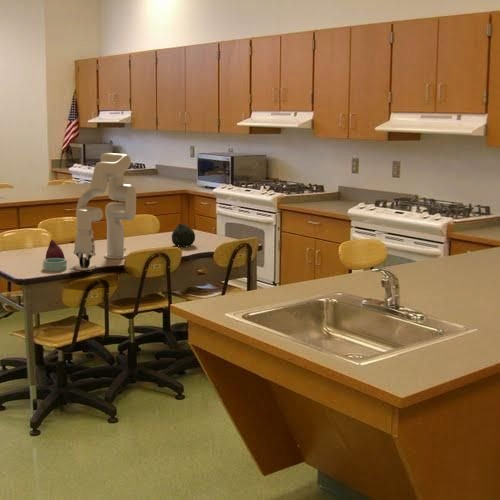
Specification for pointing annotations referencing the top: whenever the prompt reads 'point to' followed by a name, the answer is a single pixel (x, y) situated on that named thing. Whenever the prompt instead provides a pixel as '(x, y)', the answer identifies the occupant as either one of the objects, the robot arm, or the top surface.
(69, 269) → the mat
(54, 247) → the vegetable
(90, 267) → the lid
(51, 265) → the bowl
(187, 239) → the squash
